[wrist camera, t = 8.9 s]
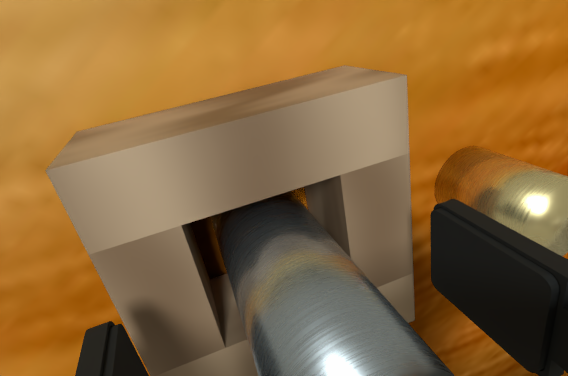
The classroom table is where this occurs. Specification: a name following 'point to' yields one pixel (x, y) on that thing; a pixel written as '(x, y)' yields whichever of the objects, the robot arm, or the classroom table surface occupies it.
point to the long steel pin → (311, 299)
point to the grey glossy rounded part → (509, 194)
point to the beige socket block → (238, 202)
